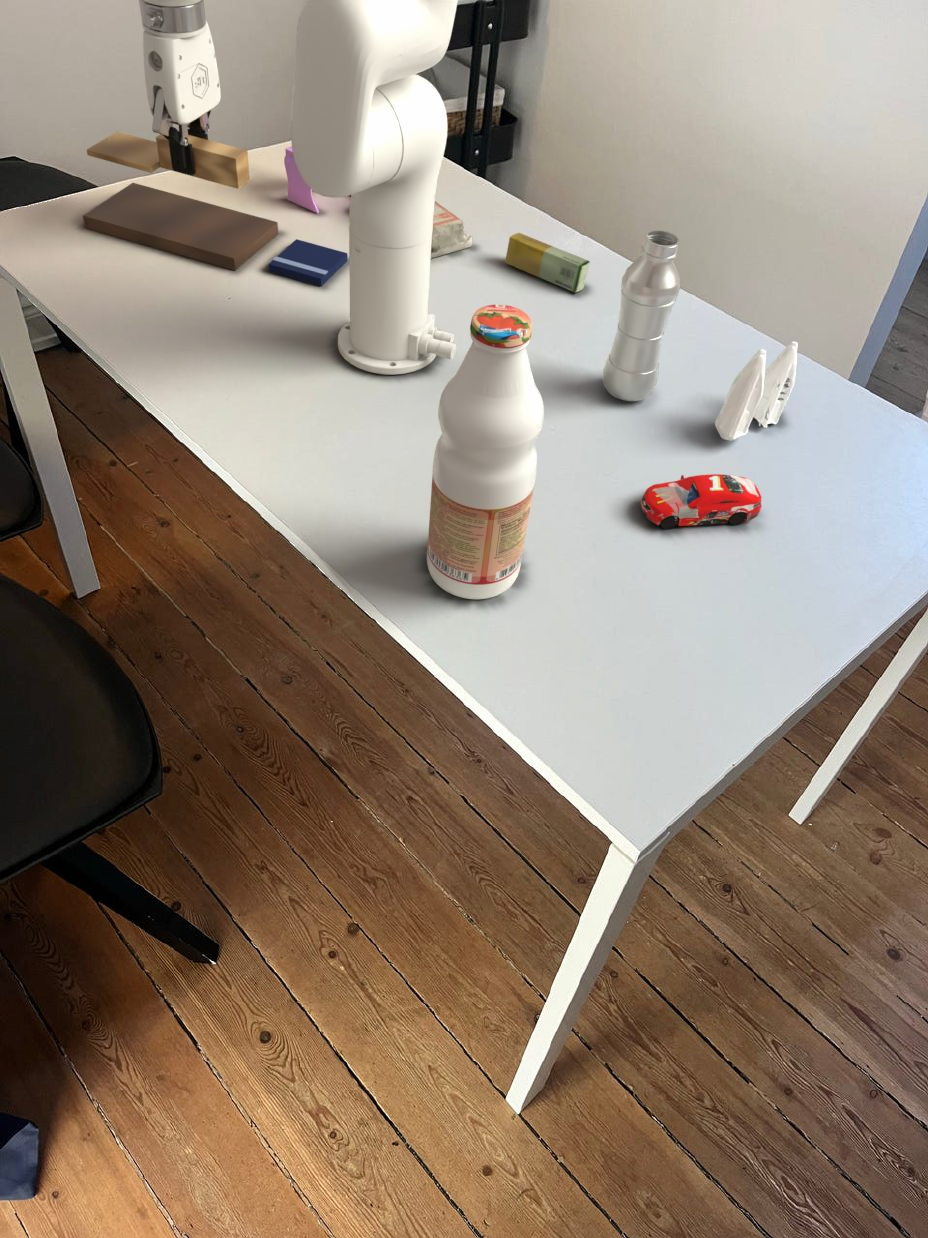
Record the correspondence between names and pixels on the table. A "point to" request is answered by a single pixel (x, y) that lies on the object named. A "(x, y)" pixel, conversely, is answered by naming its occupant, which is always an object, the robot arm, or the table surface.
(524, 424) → the fruit juice
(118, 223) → the walnut board
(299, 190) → the toy chair
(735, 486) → the race car
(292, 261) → the navy tea towel
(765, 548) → the table surface
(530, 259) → the medication box
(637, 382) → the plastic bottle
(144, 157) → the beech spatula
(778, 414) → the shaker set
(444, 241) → the packaged product
